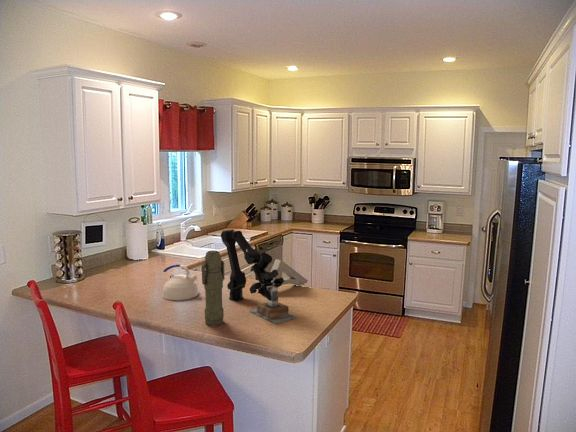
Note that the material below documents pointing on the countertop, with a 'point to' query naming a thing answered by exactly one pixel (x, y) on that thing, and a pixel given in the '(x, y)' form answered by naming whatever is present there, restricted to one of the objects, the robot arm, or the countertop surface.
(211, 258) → the olive cylinder
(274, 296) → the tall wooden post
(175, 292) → the kettle
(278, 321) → the slotted post block
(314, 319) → the countertop surface
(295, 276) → the wall bracket
